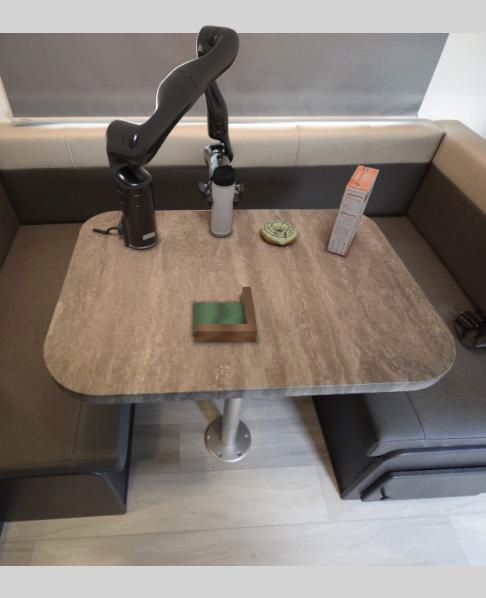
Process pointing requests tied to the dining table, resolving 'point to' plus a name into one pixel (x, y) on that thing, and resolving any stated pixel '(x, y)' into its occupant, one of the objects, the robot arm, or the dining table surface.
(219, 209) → the travel mug
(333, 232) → the cracker box
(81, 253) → the dining table surface
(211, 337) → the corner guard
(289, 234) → the decorated donut
